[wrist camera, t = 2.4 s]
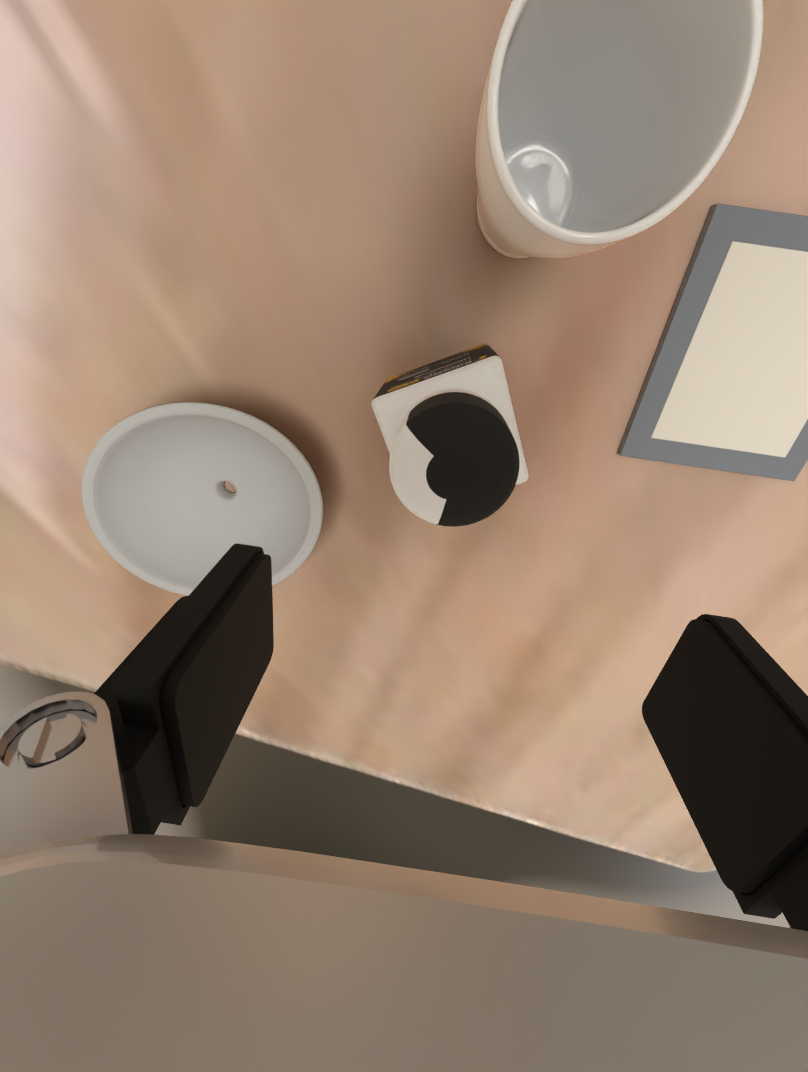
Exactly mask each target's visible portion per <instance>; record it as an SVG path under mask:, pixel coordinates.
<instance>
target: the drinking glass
mask: <svg viewBox="0 0 808 1072" xmlns="http://www.w3.org/2000/svg"><path fill="white" fill-rule="evenodd" d="M762 36H763V0H513V1H512V3H511V5H510V7H509V10H508V12H507V15H506V17H505V19H504V22H503V25H502V28H501V31H500V34H499V37H498V40H497V43H496V47H495V50H494V54H493V57H492V60H491V63H490V67H489V71H488V74H487V78H486V82H485V86H484V90H483V95H482V100H481V105H480V111H479V117H478V124H477V133H476V151H475V160H476V178H477V188H478V195H477V216H478V222H479V225H480V228H481V231H482V233H483V235H484V237H485V239H486V240H487V242H488V243H489V244H490V245H491V246H492V247H493V248H494V249H495V250H496V251H498V252H499V253H501V254H503V255H505V256H508V257H512V258H529V257H541V258H568V257H574V256H580V255H584V254H588V253H592V252H595V251H598V250H601V249H604V248H606V247H609V246H612V245H614V244H617V243H619V242H621V241H623V240H625V239H627V238H629V237H631V236H633V235H636V234H638V233H640V232H642V231H644V230H646V229H648V228H649V227H651V226H653V225H654V224H656V223H658V222H659V221H661V220H662V219H663V218H665V217H666V216H668V215H669V214H670V213H672V212H673V211H674V210H675V209H676V208H678V207H679V206H680V205H681V204H682V203H683V202H684V201H685V200H686V199H687V198H688V197H689V196H690V195H691V194H692V193H693V192H694V191H695V190H696V189H697V188H698V187H699V186H700V184H701V183H702V182H703V181H704V180H705V178H706V177H707V176H708V175H709V173H710V172H711V171H712V169H713V168H714V167H715V165H716V164H717V162H718V161H719V159H720V158H721V156H722V155H723V153H724V151H725V150H726V148H727V146H728V144H729V143H730V141H731V139H732V137H733V135H734V133H735V131H736V129H737V127H738V125H739V123H740V121H741V118H742V116H743V113H744V111H745V109H746V106H747V103H748V100H749V97H750V94H751V91H752V88H753V85H754V81H755V77H756V73H757V69H758V64H759V58H760V53H761V45H762Z"/></svg>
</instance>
